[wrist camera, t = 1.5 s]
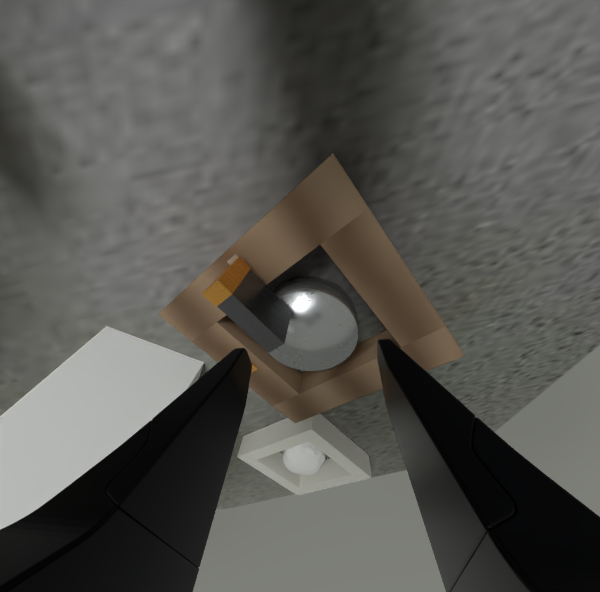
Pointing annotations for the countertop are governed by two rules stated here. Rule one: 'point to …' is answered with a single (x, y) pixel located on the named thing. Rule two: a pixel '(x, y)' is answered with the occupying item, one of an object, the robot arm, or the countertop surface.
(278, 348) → the dial
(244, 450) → the frame
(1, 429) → the milk
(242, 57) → the countertop surface
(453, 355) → the surround
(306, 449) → the garlic
